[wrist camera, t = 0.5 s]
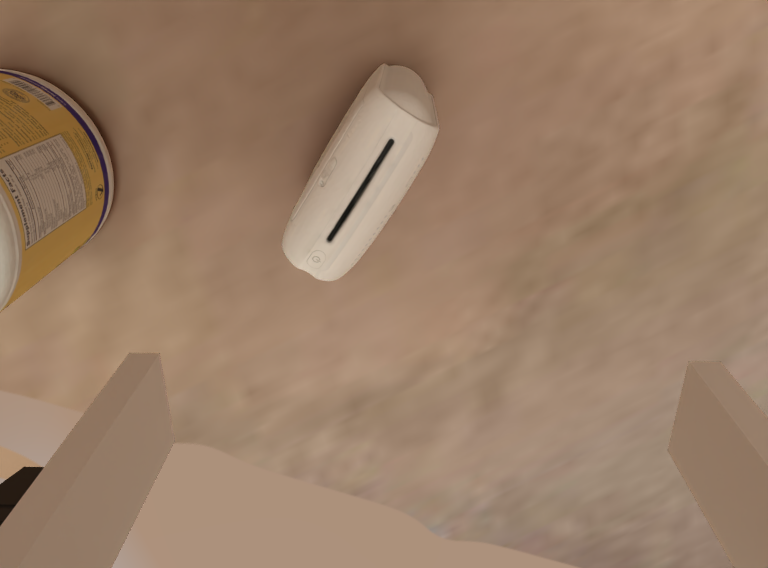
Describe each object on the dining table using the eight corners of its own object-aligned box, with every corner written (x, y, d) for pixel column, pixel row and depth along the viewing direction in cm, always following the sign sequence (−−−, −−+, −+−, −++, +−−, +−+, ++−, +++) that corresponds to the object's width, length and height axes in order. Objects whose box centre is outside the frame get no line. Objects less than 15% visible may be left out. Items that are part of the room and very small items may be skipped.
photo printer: (355, 225, 42) (337, 311, 31) (298, 191, 42) (259, 267, 30) (443, 90, 39) (459, 132, 27) (382, 49, 38) (374, 75, 26)
